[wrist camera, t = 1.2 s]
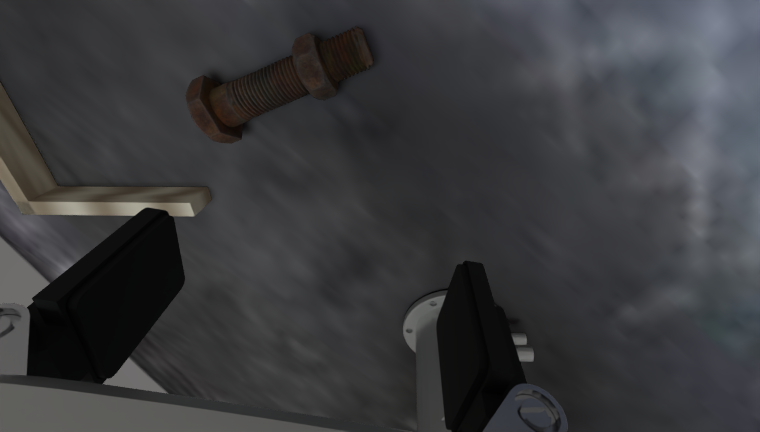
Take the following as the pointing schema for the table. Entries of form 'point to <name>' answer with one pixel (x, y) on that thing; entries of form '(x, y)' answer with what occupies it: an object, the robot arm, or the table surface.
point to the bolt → (277, 83)
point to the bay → (44, 197)
